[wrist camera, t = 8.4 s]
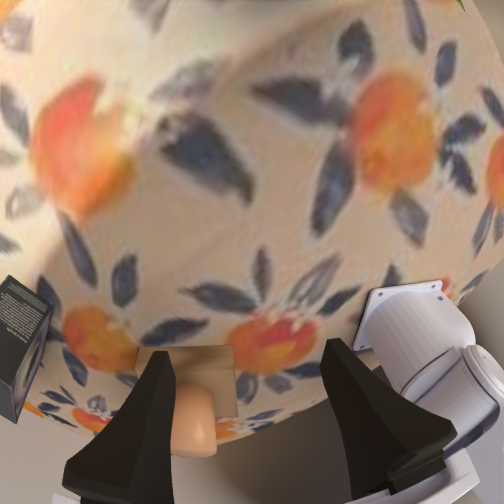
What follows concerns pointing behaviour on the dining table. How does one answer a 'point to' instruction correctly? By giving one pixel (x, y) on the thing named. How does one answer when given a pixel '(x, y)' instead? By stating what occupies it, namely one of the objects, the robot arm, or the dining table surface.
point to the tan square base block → (201, 372)
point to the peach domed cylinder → (193, 422)
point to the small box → (20, 343)
